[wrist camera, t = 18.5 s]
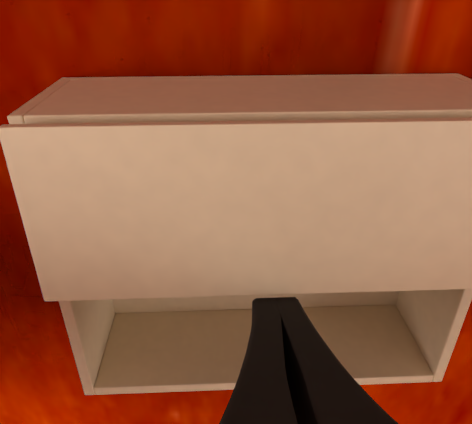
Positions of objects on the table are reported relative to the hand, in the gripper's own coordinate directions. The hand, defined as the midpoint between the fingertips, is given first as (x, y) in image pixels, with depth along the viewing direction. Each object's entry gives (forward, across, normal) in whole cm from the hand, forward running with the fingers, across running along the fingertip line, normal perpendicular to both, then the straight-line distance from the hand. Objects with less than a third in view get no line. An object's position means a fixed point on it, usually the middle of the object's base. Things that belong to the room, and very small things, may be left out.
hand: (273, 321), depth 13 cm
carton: (+5, 0, -1) cm, 5 cm away
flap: (0, 0, -4) cm, 4 cm away
